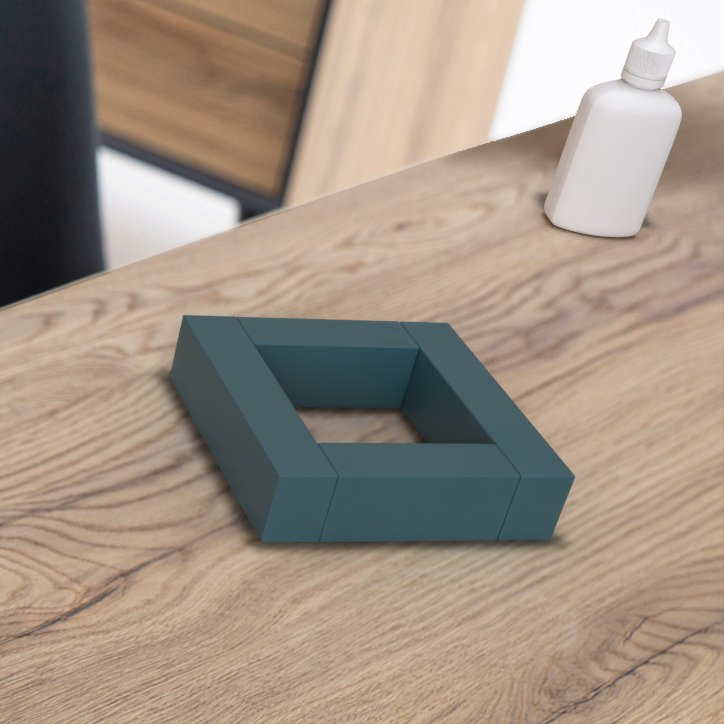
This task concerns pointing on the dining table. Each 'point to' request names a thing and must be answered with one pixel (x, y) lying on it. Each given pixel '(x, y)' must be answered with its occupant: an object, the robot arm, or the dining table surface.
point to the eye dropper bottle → (618, 145)
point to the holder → (365, 460)
